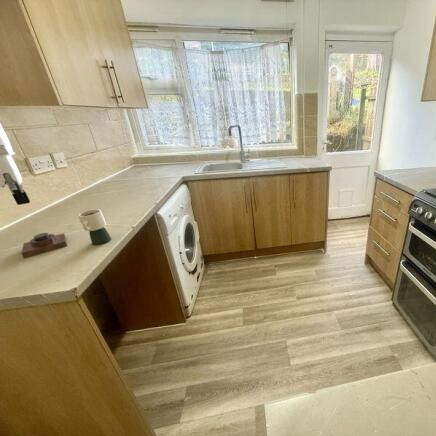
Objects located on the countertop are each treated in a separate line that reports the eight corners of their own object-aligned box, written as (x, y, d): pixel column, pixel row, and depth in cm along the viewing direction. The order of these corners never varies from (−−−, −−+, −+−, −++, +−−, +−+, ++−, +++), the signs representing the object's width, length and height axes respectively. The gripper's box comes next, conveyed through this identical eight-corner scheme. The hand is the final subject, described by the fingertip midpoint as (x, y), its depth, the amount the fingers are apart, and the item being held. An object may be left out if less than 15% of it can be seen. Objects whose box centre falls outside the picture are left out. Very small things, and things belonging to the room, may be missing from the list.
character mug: (99, 237, 102) (86, 208, 96) (118, 234, 103) (106, 206, 97) (84, 250, 92) (69, 219, 86) (105, 248, 93) (92, 217, 87)
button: (35, 242, 91) (33, 238, 90) (35, 239, 93) (33, 235, 93) (49, 239, 93) (47, 235, 92) (49, 235, 96) (48, 231, 95)
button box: (24, 258, 88) (18, 248, 86) (26, 248, 94) (21, 239, 93) (67, 246, 95) (63, 237, 93) (66, 237, 102) (62, 229, 100)
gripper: (-16, 150, 83) (11, 201, 90) (-26, 155, 73) (6, 211, 80) (15, 147, 87) (39, 196, 95) (10, 151, 77) (37, 205, 85)
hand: (24, 203), depth 87 cm, fingers closed
